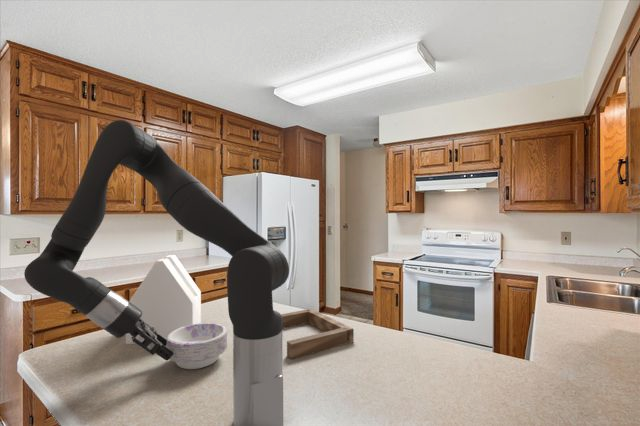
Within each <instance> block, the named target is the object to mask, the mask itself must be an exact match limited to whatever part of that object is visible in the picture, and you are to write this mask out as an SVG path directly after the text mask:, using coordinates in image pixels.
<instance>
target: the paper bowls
mask: <svg viewBox="0 0 640 426" xmlns="http://www.w3.org/2000/svg"><path fill="white" fill-rule="evenodd" d="M166 340H167V345H166V347H167V348H168V349H170V350H171V351H172V352H173V355H172V356H171V358H170V359H169V360H170V361H171V362H173V363H176V365H177V366H178V367H179V368H181V369H186V370H197V369H202V368H206V367H208V366H211V365H212V364H214V363H216V361H217V360H218V358H219V357H220V355H223V354H224V352H226V350H227V349H228V329H227V326H224V325H223V324H221V323H220V324H219V323H216V322H215V323H214V322H201V323H199V324H192V325H188V326H184V327H181V328H179V329H176V330H174V331H173V332H171V333H170V334H169V335H168V336H167V339H166Z"/></svg>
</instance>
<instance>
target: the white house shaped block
mask: <svg viewBox="0 0 640 426" xmlns="http://www.w3.org/2000/svg"><path fill="white" fill-rule="evenodd" d="M128 301H129V302H130V303H132V304H133V305H134V306H136V307H137V308H139V309H140V310H141V311H142V316H141V318H140V319H141V320H143V321H144V322H146V323H147V324H149V325H150V326H151V327H154V329H155V330H156V331H157V334H159V335H161V336H162V337H163V338H165V339H167V336H168V335H169V334H170V333H171V332H173V331H174V330H176V329H179V328H181V327H184V326H188V325H192V324H199V323H202V292H201V289H200V288H199V287H198V285H197V284H196V282H195V281H194V280H193V278H192V276H191V275H190V274H189V273H188V271H187V270H186V269H185V266H183V263H182V262H181V261H180V260H179V259H178V256H177V255H176V254H168V255H167V256H164V257H163V258H160V259H158V260H156V261H155V262H154V263H153V265H152V267H151V268H150V270H149V271H148V273H146V276H145V277H144V279H143V280H142V281H141V283H140V285H139V286H138V288H137V290H135V292H134V293H133V294H132V296H131V298H130V299H129V300H128ZM132 340H133V339H132V336H131V335H130V334H129V333H127V334H125V345H134V344H136V343H134V342H133V341H132ZM136 345H137V344H136Z"/></svg>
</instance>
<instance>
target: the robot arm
mask: <svg viewBox="0 0 640 426" xmlns="http://www.w3.org/2000/svg"><path fill="white" fill-rule="evenodd" d="M118 166H122V167H125V168H127V169H130V170H132V171H133V172H135V173H136V174H139V175H140V176H141V177H142V178H144V179H145V180H146V181H147V182H149V183H150V184H151V186H152V187H154V189H155V190H156V192H157V197H158V200H159V202H160V204H161V205H162V207H163V209H164V210H165V211H166V212H167V213H168V214H169V216H171V217H172V218H173V219H174V220H175V221H176V222H177V223H178V224H179V225H180V226H181V227H182V228H183V229H185V230H186V231H187V232H190V234H193V235H194V236H196V237H198V238H200V239H203V240H204V241H207V242H209V243H210V244H213V245H215V246H217V247H219V248H220V249H221V250H223V251H225V252H226V253H228V254H229V255H230V256H231V258H230V260H229V261H228V265H227V270H226V290H227V291H226V292H227V310H228V316H229V319H230V321H231V324H232V333H233V334H232V335H233V337H232V338H233V339H232V342H233V346H232V347H233V349H232V352H233V353H232V354H233V355H232V356H233V357H232V359H233V360H232V361H233V362H232V363H233V366H232V367H233V368H232V370H233V371H232V372H233V374H232V377H233V378H232V379H233V381H232V384H233V386H232V387H233V393H232V394H233V398H232V399H233V401H232V402H233V410H232V411H233V426H284V377H283V328H282V316H281V313H280V312H278V311H277V310H274V304H273V291H275V290H277V289H278V288H280V287H282V286H283V285H284V284H285V283H286V282H287V280H288V278H289V275H290V266H289V262H288V259H287V257H286V255H285V254H284V252H282V251H281V249H280V248H278V247H277V246H276V245H274V244H273V243H272V242H271V241H269V240H268V239H266V238H265V237H263V236H262V235H260V234H259V233H258V232H256V231H255V230H254V229H252V228H251V227H250V226H248V225H247V224H246V223H245V222H244V221H243V220H242V219H241V218H240V217H239V216H237V214H236V213H234V212H233V211H232V209H230V208H229V207H228V206H227V205H226V204H225V203H223V202H222V201H221V200H220V198H218V197H217V195H215V194H214V193H213V192H212V191H211V190H210V189H209V188H208V187H207V186H205V184H204V183H202V182H201V181H200V180H199V179H197V178H196V177H195V176H194V175H193V174H191V173H190V172H188V171H187V170H185V169H184V168H183V167H181V166H180V165H179V164H177V163H176V162H175V161H174V159H173V158H172V157H171V156H170V155H169V154H168V152H167V151H166V150H165V149H164V148H163V147H162V145H161V144H160V143H159V142H158V140H157V139H156V138H154V137H153V135H150V134H149V133H147V132H146V131H144V130H143V129H141V128H139V127H138V126H137V125H135V124H133V123H131V122H130V121H127V120H126V119H117V120H114V121H111V122H110V123H108V124H107V125H106V126H105V127H104V128H103V130H101V132H100V134H99V135H98V138H97V140H96V142H95V144H94V146H93V150H92V152H91V154H90V156H89V159H88V161H87V163H86V165H85V168H84V171H83V174H82V176H81V178H80V181H79V184H78V187H77V188H76V190H75V193H74V194H73V197H72V199H71V201H70V202H69V204H68V206H67V207H66V209H65V211H64V212H63V214H62V215H61V216H60V218H59V220H58V221H57V222H56V225H54V228H53V230H52V232H51V236H50V237H51V239H50V240H49V241H48V243H47V245H46V246H45V248H44V249H43V251H42V252H41V253H40V254H39V256H38V257H36V258H35V259H34V260H32V261H31V262H29V263H28V264H27V266H26V267H25V269H24V273H23V274H24V279H25V281H26V282H27V284H28V285H29V286H30V287H31V288H32V289H34V290H35V291H36V292H39V293H40V294H42V295H45V296H47V297H49V298H51V299H55V300H57V301H59V302H62V303H65V304H67V305H69V306H71V307H72V308H74V309H75V310H76V311H78V312H79V313H81V314H83V316H85V317H87V318H88V319H89V320H90V321H91V322H92V323H94V324H95V325H96V326H98V327H99V328H101V329H102V330H104V331H106V332H107V333H108V334H110V335H112V337H115V338H116V339H120V338H123V337H124V336H126V334H127V333H129V334H130V335H131V336H132V339H133V340H132V341H133V342H134V343H136V345H138V346H139V347H141V348H142V349H143V350H145V351H146V352H148V353H149V354H150V355H152V356H153V355H157V356H159V357H160V358H162V359H163V360H165V361H169V360H170V358H171V356H172V355H173V352H172V351H171V350H170V349H168V348H167V340H166V339H165V338H163V337H162V336H161V335H159V334H157V331H156V330H155V329H154V327H151V326H150V325H149V324H147V323H146V322H144V321H143V320H141V319H140V318H141V316H142V311H141V310H140V309H139V308H137V307H136V306H134V305H133V304H132V303H130V302H129V301H130V300H128V299H126V298H125V297H123V296H122V295H121V294H119V293H117V292H116V291H114V290H112V289H110V288H109V287H107V286H106V285H105V284H103V283H102V282H100V281H99V280H98V279H96V278H94V277H91V276H89V277H84V276H81V275H80V274H78V273H77V272H74V269H75V268H76V266H77V264H78V262H79V260H80V259H81V256H82V254H83V253H84V250H85V248H86V247H87V246H88V244H89V243H90V242H91V240H92V239H93V238H94V235H95V234H96V233H97V231H98V229H99V228H100V226H101V225H102V222H103V220H104V218H105V216H106V211H107V194H108V193H107V191H108V185H109V181H110V179H111V177H112V174H113V173H114V172H115V170H116V168H117V167H118ZM152 344H154V346H153V347H152V346H151V345H152Z"/></svg>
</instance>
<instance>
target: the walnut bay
mask: <svg viewBox="0 0 640 426" xmlns="http://www.w3.org/2000/svg"><path fill="white" fill-rule="evenodd" d="M280 314H281V313H280ZM281 316H282V329H285V328H290V327H291V328H292V327H296V326H300V325H304V324H303V323H305V324H310V325H312V326H314V327H316V328H318V329H320V330H321V331H323V332H320V333H317V334H316V333H315V334H311V335H307V336H304V337H299V338H294V339H291V340H286V356H287V357H288V358H289V359H290V360H292V359H296V358H300V357H304V356H308V355H311V354H314V353H318V352H323V351H325V350H328V349H329V350H330V349H333V348H337V347H340V346H343V345H347V344H351V343H354V342H355V341H354V335H355V333H354V331H355V330H354V328H352V327H351V326H349V325H346V324H344V323H342V322H340V321H337V320H336V319H333V318H331V317H329V316H327V315H326V314H323V313H322V312H319V311H317V310H315V309H313V308H309V309H303V310H298V311H293V312H287V313H282V314H281ZM299 324H300V325H299ZM295 325H296V326H295Z"/></svg>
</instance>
